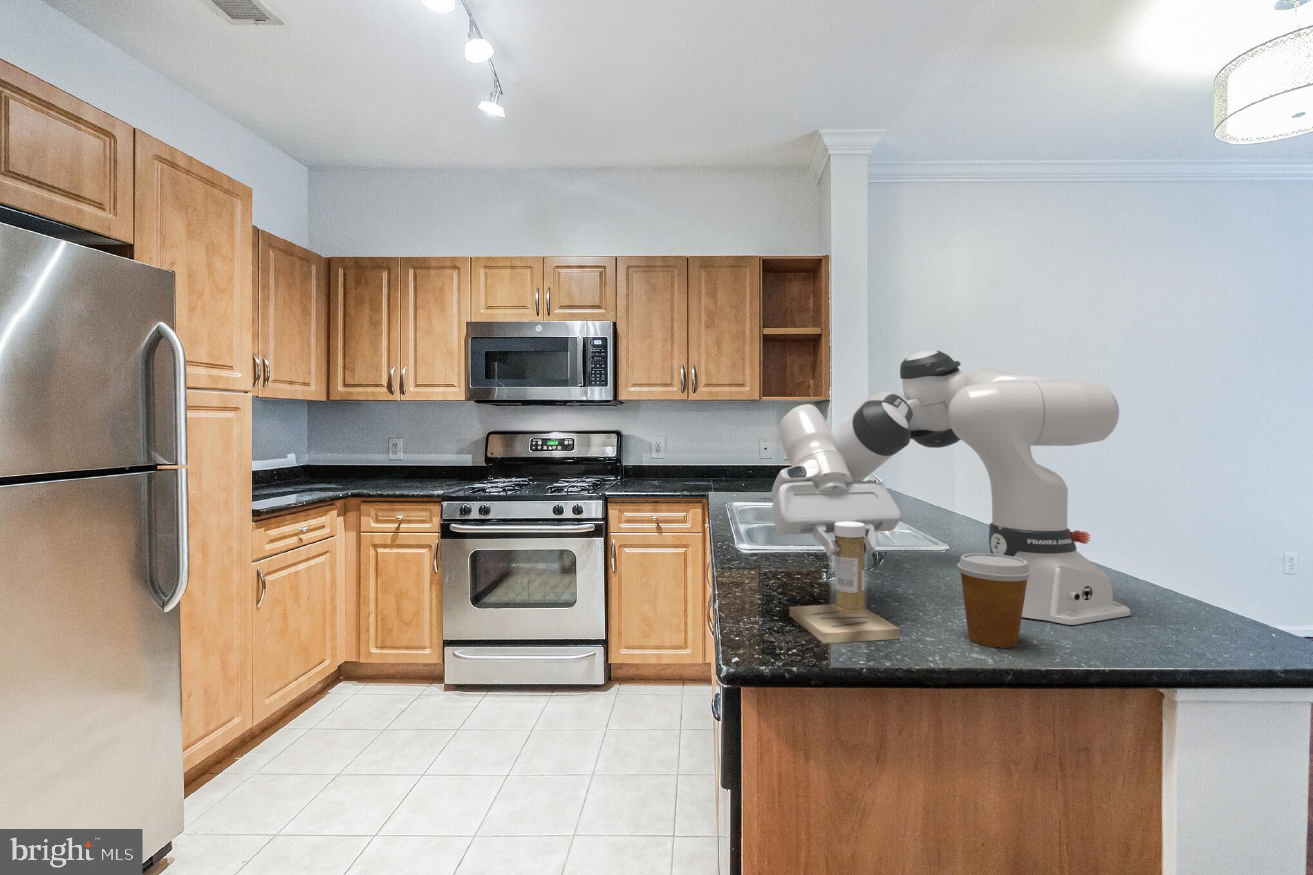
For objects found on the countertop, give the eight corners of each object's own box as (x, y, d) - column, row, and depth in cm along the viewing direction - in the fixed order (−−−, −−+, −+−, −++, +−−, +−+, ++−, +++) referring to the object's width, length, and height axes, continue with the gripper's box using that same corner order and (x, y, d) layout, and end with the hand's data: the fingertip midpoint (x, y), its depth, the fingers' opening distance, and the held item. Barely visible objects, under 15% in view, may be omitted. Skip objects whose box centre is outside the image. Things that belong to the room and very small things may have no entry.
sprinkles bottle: (871, 611, 93) (871, 523, 93) (852, 616, 91) (852, 526, 90) (847, 604, 97) (847, 519, 97) (827, 609, 94) (827, 522, 94)
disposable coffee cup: (945, 629, 95) (946, 552, 95) (1009, 630, 95) (1010, 552, 94) (974, 651, 86) (975, 566, 85) (1044, 653, 85) (1046, 567, 85)
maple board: (856, 611, 104) (856, 602, 104) (899, 638, 91) (899, 628, 91) (789, 615, 102) (789, 606, 102) (823, 643, 89) (823, 633, 89)
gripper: (874, 492, 106) (906, 561, 97) (761, 495, 103) (783, 566, 94) (888, 468, 102) (923, 538, 93) (771, 470, 98) (794, 543, 89)
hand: (851, 552), depth 93 cm, fingers closed on sprinkles bottle, 4 cm apart
